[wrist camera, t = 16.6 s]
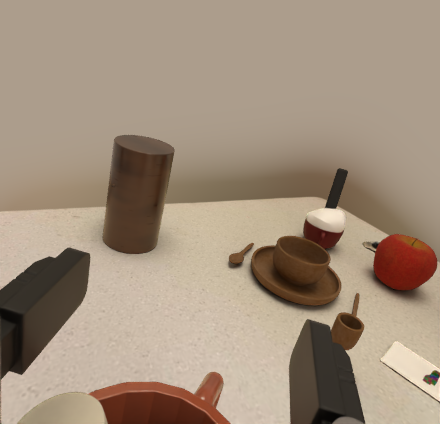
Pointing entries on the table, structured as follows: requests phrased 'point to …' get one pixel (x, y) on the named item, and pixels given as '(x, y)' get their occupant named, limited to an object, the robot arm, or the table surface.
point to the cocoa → (327, 217)
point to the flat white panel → (414, 368)
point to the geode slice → (371, 245)
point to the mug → (162, 403)
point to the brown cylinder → (136, 193)
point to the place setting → (303, 280)
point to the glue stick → (67, 410)
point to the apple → (404, 262)
